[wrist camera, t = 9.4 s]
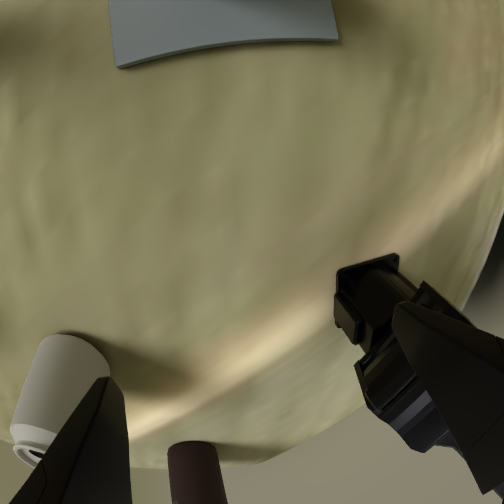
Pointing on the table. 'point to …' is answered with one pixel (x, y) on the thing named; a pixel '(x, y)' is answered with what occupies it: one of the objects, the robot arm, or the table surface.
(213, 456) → the wine bottle
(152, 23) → the grey square plate
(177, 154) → the table surface
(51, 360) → the can
